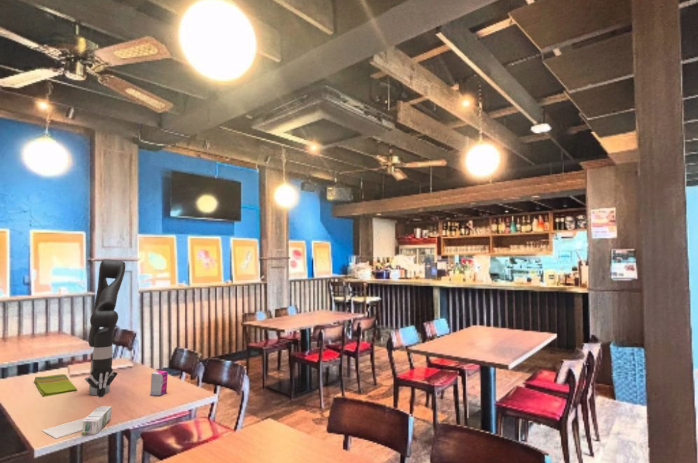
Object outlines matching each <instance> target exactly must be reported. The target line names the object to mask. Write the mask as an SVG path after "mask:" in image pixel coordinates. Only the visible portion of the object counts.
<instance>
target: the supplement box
mask: <svg viewBox="0 0 698 463" xmlns="http://www.w3.org/2000/svg"><path fill="white" fill-rule="evenodd" d="M168 374H169V373H168V370H167V371H166V370H156V371H154V372H151V375H150V376H151V379H150V390H149V392H150V393H149V394H150V396H151V397H160V396H163V395H165V394H167V390H168Z"/></svg>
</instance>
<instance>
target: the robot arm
mask: <svg viewBox="0 0 698 463" xmlns="http://www.w3.org/2000/svg"><path fill="white" fill-rule="evenodd" d="M125 273H126V262H125V261H123V260H116V259H107V258H106V259H102V260H101V262H100V264H99V270H98V282H97V289H96V295H95V301H94V306H93V312H92V314H91V316H90V319H89V322H90V323H89V324H90V330H89V335H88V341H87V342H88V346H89V347H90V348H93V350H92V354H91V355H90V356H91V357H90V368H89V370H90V372H89V376H88V377H85V379H84V380H85V381H86V383H88V385H89V390H88V391H89V392H88V393H89V395H91V396H97V397H98V398H103V397H105V395H106V394H108V393H109V392H110V390H111V389H110V388H111V384H112V382H113V381H114V379H115V378H116V377H117V375H118V372H115V371H114V370H113V368H112V366H113V354H114V353H113V351H114V350H113V340H114V332H115V329H116V325H117V323H118V320H119V314H118V312H117V311H115V309H116V305H117V300H118V295H119V291H120V289H121V285H122V282H123V281H124V280H123V279H124V277H125ZM108 279H113V281H112V282H111V283H110V284H108V281H107V280H108Z"/></svg>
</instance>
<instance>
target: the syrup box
mask: <svg viewBox="0 0 698 463" xmlns="http://www.w3.org/2000/svg"><path fill="white" fill-rule="evenodd" d="M111 414H112V406H97V407H96V408H95V409H94V410H93V411H92V412H91V413H90V414H89V415H87V416H86V417H84V418H85V419H84V420H83V428H82V431H81V435H97V434H98V433H99V432H100V431H101V430H102V429H103V427H104V426H106V424H107V423H108V422H109V421H111V417H112V415H111Z"/></svg>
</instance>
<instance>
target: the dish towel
mask: <svg viewBox="0 0 698 463" xmlns="http://www.w3.org/2000/svg"><path fill="white" fill-rule="evenodd" d="M33 383H34V385H35V387H36V388H37V390H38V391H39V393H40V395H41V396H42V397H44V398H46V397H50V396H55V395H56V396H57V395H61V394H68V393H73V392H77V391H78V388H77V387H76V386H75V385H74V384H73V383H72V381H71V380H70V379H69V377H68V375H67V374H65V373H62V374H59V373H58V374H52V375H47V376H35V377H34V380H33Z"/></svg>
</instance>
